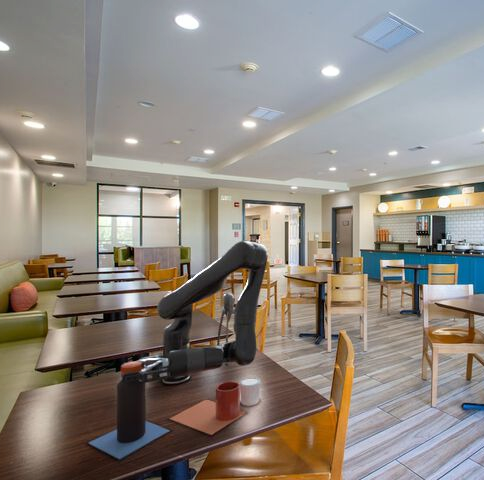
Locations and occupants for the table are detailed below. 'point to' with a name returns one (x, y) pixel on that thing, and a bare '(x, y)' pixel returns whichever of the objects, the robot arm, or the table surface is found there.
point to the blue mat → (121, 450)
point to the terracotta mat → (203, 417)
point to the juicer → (228, 310)
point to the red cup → (227, 401)
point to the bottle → (131, 406)
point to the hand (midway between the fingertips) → (122, 373)
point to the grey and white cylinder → (250, 391)
